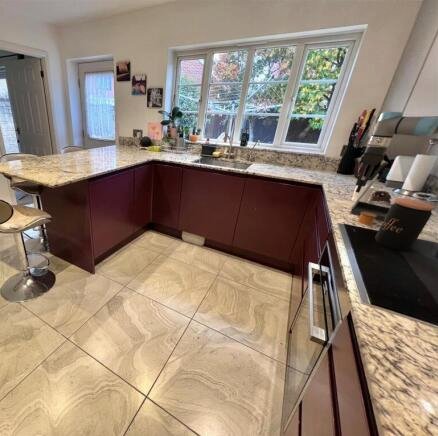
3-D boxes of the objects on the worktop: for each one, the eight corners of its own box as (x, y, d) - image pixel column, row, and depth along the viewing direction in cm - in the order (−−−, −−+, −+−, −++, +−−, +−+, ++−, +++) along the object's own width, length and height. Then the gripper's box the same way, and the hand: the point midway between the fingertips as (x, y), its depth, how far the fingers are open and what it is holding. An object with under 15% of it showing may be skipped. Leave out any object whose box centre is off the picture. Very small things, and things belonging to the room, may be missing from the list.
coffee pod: (374, 227, 108) (379, 217, 106) (360, 225, 109) (364, 215, 107) (367, 222, 113) (372, 212, 111) (354, 220, 114) (358, 210, 112)
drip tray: (391, 214, 124) (394, 208, 122) (389, 224, 111) (392, 218, 110) (355, 205, 134) (357, 200, 132) (349, 214, 121) (351, 208, 120)
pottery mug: (394, 207, 136) (395, 196, 132) (373, 211, 140) (374, 200, 136) (383, 195, 145) (384, 185, 141) (364, 200, 149) (364, 189, 145)
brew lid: (379, 174, 123) (377, 173, 123) (375, 179, 111) (373, 179, 111) (358, 200, 132) (356, 199, 132) (353, 208, 119) (351, 207, 120)
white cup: (369, 204, 136) (377, 188, 132) (353, 202, 138) (360, 186, 134) (362, 200, 143) (370, 185, 139) (347, 198, 145) (354, 183, 141)
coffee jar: (368, 236, 99) (388, 196, 92) (398, 240, 97) (421, 200, 89) (383, 248, 90) (406, 205, 82) (417, 253, 87) (444, 210, 80)
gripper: (359, 145, 116) (341, 190, 126) (395, 148, 107) (372, 196, 117) (361, 144, 121) (343, 187, 130) (396, 147, 112) (374, 193, 122)
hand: (357, 191), depth 124 cm, fingers closed
